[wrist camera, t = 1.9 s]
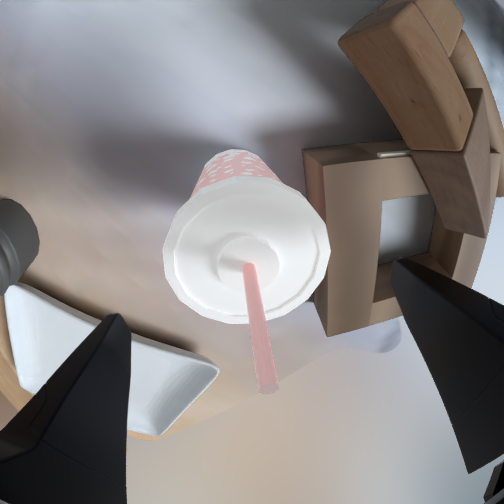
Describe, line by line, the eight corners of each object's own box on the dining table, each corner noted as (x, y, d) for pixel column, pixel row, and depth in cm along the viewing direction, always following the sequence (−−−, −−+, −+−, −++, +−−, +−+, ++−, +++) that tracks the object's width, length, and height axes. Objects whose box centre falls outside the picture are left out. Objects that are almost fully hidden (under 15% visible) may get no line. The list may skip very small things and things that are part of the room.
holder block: (467, 136, 17) (501, 151, 13) (448, 266, 24) (470, 289, 20) (301, 146, 17) (322, 162, 13) (313, 302, 24) (327, 337, 20)
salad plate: (224, 342, 26) (225, 372, 23) (160, 420, 35) (159, 440, 32) (18, 256, 19) (-1, 279, 16) (27, 369, 28) (20, 387, 25)
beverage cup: (244, 242, 20) (276, 444, 8) (169, 195, 18) (100, 397, 6) (302, 175, 18) (430, 345, 6) (225, 117, 15) (242, 210, 4)
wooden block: (390, 18, 7) (490, 271, 15) (437, -24, 7) (518, 172, 16) (331, 43, 10) (453, 259, 18) (398, -11, 11) (487, 168, 19)
